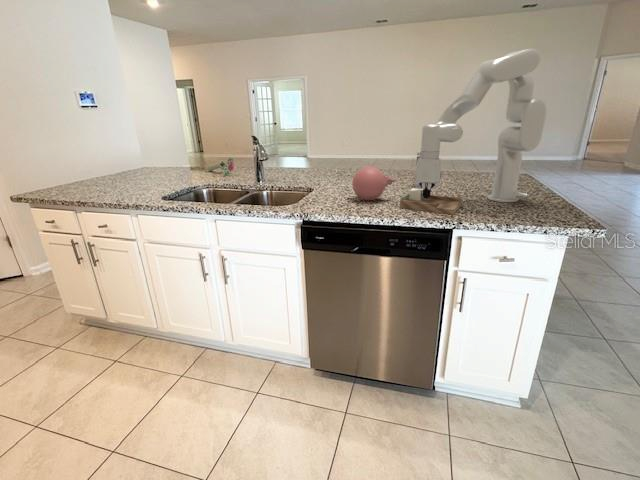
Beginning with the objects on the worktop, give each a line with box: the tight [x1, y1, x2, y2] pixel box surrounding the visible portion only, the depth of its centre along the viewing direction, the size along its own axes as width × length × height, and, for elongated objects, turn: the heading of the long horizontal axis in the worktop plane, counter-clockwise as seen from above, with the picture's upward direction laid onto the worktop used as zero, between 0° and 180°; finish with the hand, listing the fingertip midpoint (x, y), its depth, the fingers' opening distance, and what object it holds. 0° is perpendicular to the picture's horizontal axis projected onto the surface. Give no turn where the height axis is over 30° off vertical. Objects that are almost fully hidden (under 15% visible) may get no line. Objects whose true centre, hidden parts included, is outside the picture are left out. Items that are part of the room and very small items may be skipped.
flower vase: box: [205, 157, 235, 176], centre depth 236 cm, size 12×12×35 cm
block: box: [408, 187, 423, 200], centre depth 150 cm, size 5×5×4 cm
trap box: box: [399, 192, 463, 216], centre depth 144 cm, size 22×15×4 cm
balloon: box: [351, 166, 397, 201], centre depth 156 cm, size 15×20×15 cm
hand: (426, 197), depth 148 cm, fingers closed
